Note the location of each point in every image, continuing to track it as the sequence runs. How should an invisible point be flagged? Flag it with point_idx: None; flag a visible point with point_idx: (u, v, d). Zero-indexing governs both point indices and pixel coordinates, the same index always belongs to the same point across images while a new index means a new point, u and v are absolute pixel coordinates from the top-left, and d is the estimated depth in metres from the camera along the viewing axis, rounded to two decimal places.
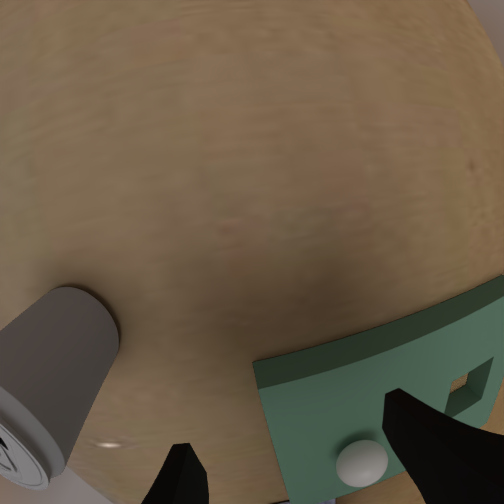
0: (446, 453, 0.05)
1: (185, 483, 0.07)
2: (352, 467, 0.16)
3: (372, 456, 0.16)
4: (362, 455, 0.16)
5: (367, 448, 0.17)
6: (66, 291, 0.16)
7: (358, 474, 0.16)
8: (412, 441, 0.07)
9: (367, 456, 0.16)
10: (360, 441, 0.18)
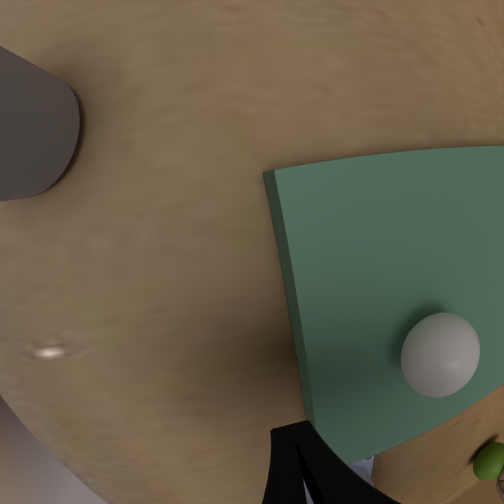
0: None
1: None
2: (436, 347, 0.10)
3: (461, 326, 0.10)
4: (447, 325, 0.10)
5: (450, 316, 0.11)
6: None
7: (447, 359, 0.10)
8: (309, 480, 0.07)
9: (454, 326, 0.10)
10: (433, 314, 0.12)
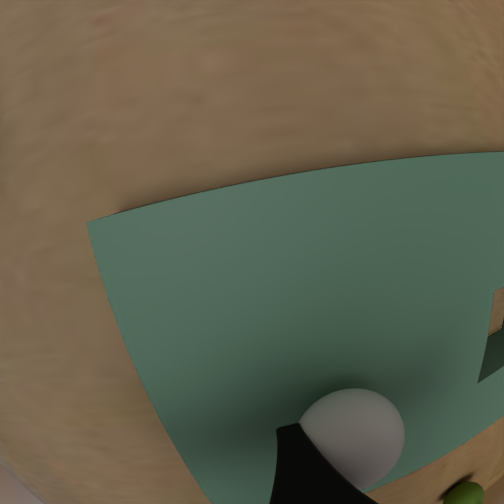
0: None
1: None
2: (335, 445, 0.07)
3: (373, 411, 0.08)
4: (350, 413, 0.08)
5: (356, 398, 0.08)
6: None
7: (355, 458, 0.07)
8: None
9: (362, 412, 0.08)
10: (333, 393, 0.10)
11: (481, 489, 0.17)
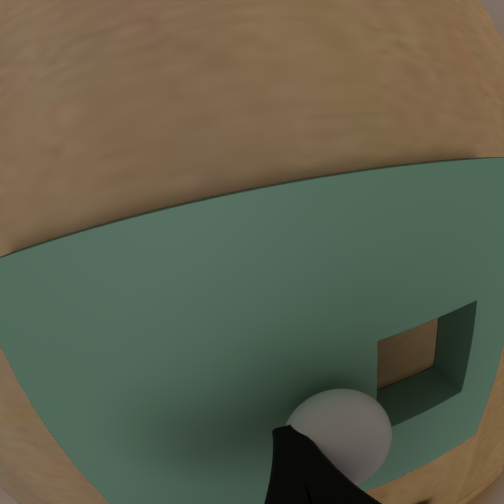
0: None
1: None
2: (348, 389, 0.10)
3: (313, 406, 0.09)
4: (335, 399, 0.09)
5: (327, 414, 0.08)
6: None
7: None
8: None
9: (323, 401, 0.09)
10: (353, 442, 0.07)
11: None
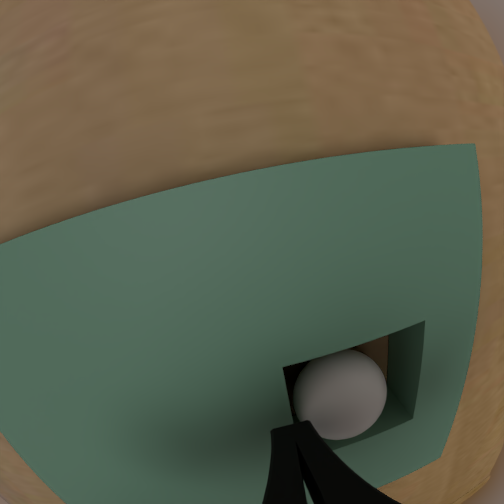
0: None
1: None
2: (304, 375, 0.11)
3: (338, 376, 0.10)
4: (327, 364, 0.11)
5: (344, 361, 0.11)
6: None
7: (301, 393, 0.11)
8: (309, 480, 0.07)
9: (331, 370, 0.10)
10: (356, 351, 0.12)
11: None
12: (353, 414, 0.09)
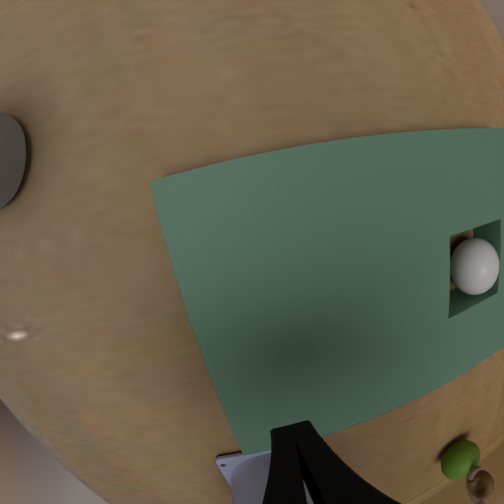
0: None
1: None
2: (471, 254, 0.16)
3: (486, 244, 0.16)
4: (477, 242, 0.16)
5: (479, 239, 0.16)
6: None
7: (478, 261, 0.15)
8: (309, 480, 0.07)
9: (482, 243, 0.16)
10: None
11: (476, 447, 0.22)
12: None
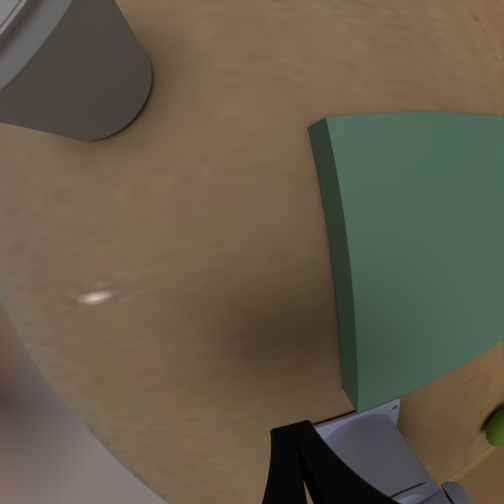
0: None
1: None
2: None
3: None
4: None
5: None
6: None
7: None
8: (309, 480, 0.07)
9: None
10: None
11: None
12: None
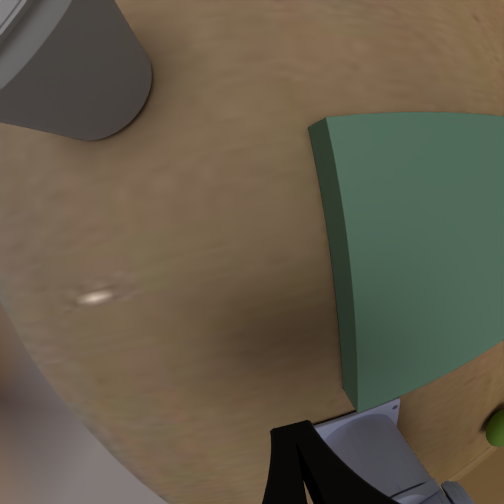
0: None
1: None
2: None
3: None
4: None
5: None
6: None
7: None
8: (309, 480, 0.07)
9: None
10: None
11: None
12: None
